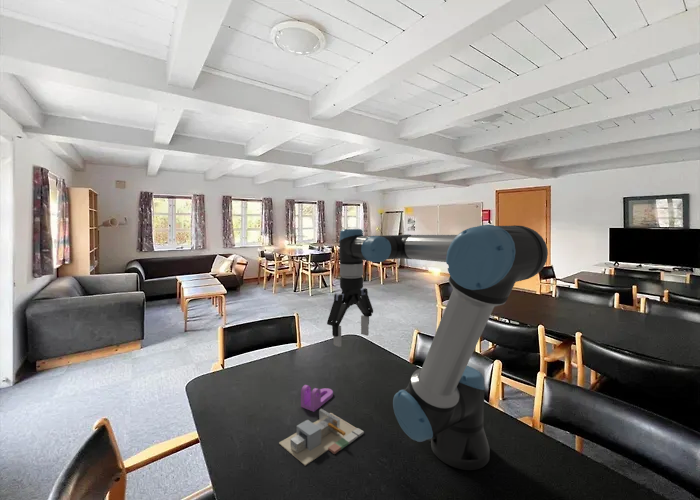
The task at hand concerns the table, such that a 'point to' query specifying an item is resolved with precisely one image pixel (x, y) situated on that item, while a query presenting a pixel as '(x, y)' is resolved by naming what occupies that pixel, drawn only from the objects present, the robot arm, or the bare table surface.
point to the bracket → (314, 397)
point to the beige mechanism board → (321, 440)
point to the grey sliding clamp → (326, 424)
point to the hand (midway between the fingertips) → (351, 340)
